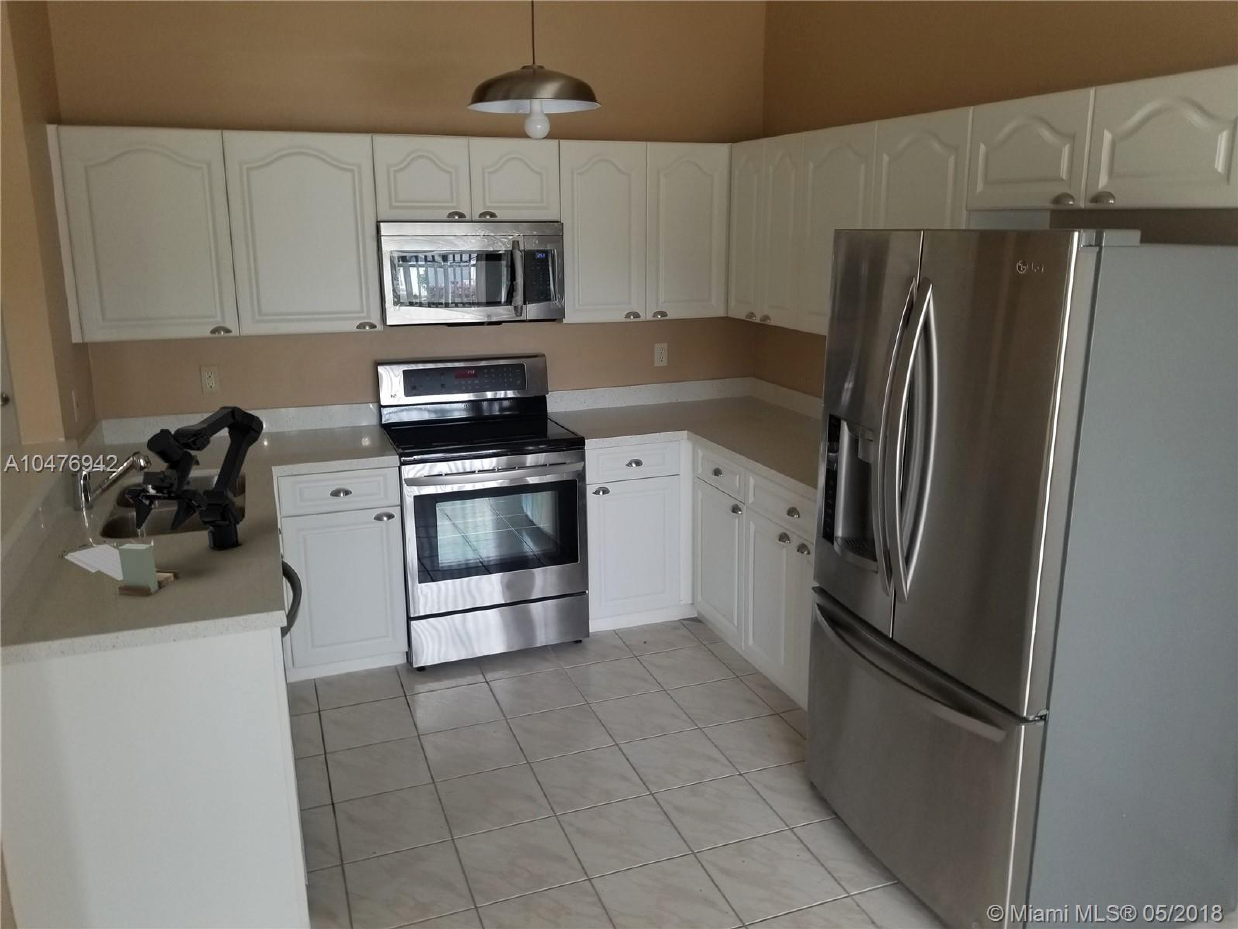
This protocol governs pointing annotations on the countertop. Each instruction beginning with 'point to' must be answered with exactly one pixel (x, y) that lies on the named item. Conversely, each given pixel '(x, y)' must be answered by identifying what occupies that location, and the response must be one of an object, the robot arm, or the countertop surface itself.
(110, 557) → the baseboard
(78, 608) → the countertop surface
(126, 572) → the pale green block
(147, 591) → the rack
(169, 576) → the offcut top
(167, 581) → the offcut low
